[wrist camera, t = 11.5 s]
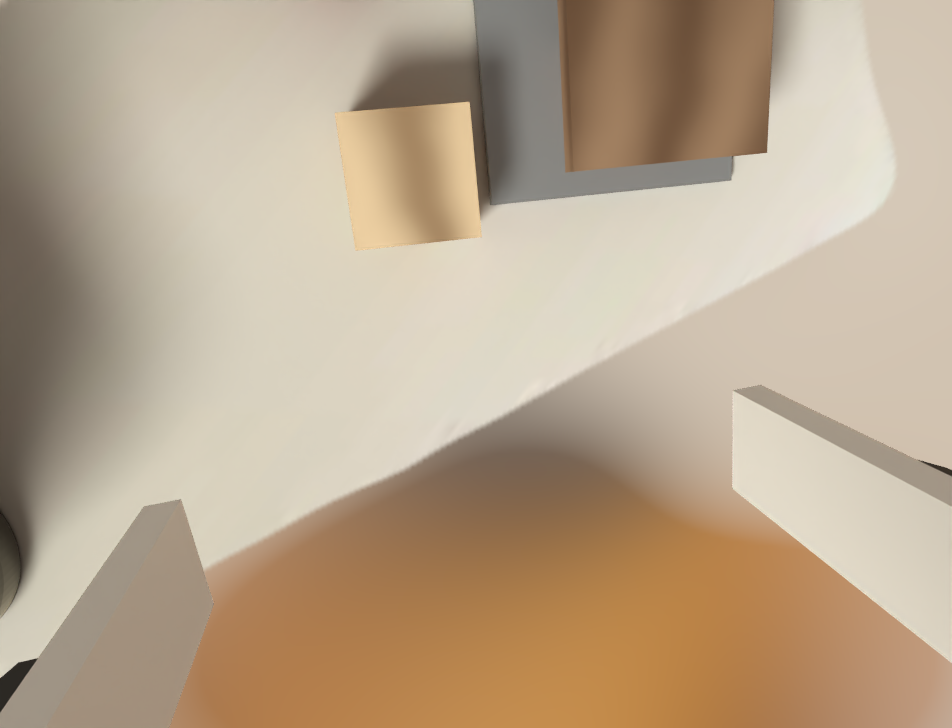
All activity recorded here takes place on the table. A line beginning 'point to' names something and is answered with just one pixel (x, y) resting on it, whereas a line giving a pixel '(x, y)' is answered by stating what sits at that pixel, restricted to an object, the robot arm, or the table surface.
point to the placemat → (547, 114)
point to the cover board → (663, 80)
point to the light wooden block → (410, 174)
